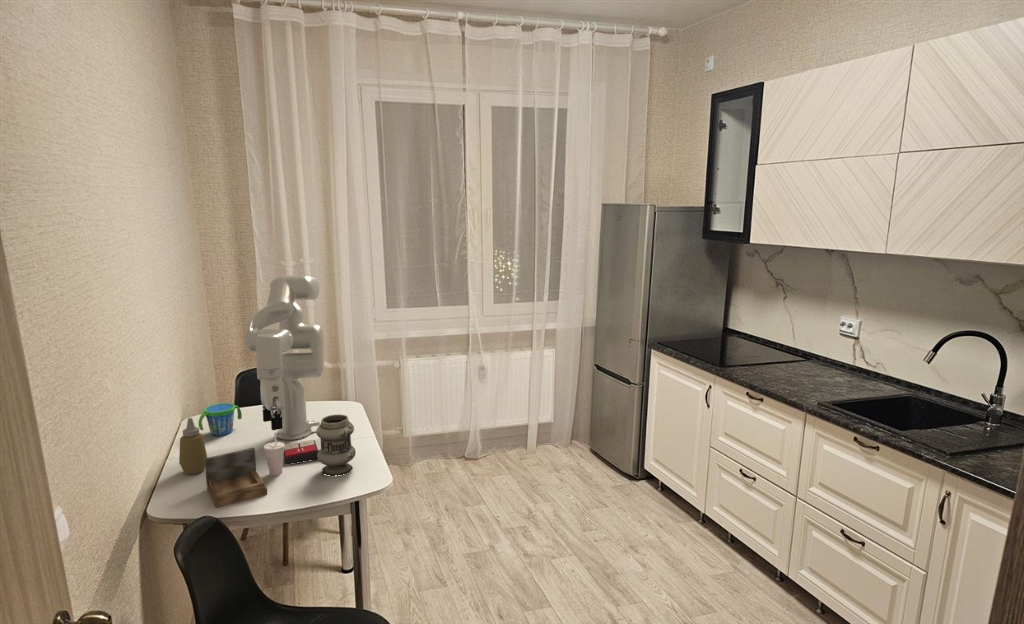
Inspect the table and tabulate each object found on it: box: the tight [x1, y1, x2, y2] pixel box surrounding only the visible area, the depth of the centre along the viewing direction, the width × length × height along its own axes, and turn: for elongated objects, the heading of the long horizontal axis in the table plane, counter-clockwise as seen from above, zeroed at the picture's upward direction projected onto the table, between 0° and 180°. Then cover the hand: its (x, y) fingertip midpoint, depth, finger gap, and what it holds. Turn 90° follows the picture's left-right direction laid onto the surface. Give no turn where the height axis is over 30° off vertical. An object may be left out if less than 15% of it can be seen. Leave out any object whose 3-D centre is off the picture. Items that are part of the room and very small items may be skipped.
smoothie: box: [263, 431, 286, 477], centre depth 187 cm, size 6×6×14 cm
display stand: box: [204, 447, 268, 508], centre depth 175 cm, size 14×14×10 cm
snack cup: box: [198, 402, 243, 437], centre depth 221 cm, size 16×10×10 cm
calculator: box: [283, 438, 321, 465], centre depth 202 cm, size 11×4×15 cm
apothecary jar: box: [315, 413, 356, 477], centre depth 190 cm, size 12×12×18 cm
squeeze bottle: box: [178, 417, 208, 475], centre depth 188 cm, size 8×8×18 cm
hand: (272, 425), depth 185 cm, fingers open, 9 cm apart
